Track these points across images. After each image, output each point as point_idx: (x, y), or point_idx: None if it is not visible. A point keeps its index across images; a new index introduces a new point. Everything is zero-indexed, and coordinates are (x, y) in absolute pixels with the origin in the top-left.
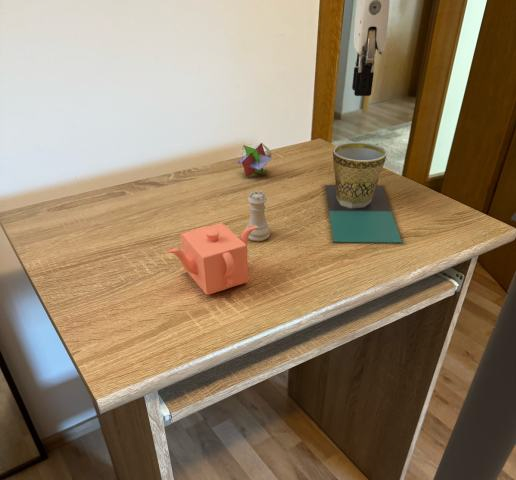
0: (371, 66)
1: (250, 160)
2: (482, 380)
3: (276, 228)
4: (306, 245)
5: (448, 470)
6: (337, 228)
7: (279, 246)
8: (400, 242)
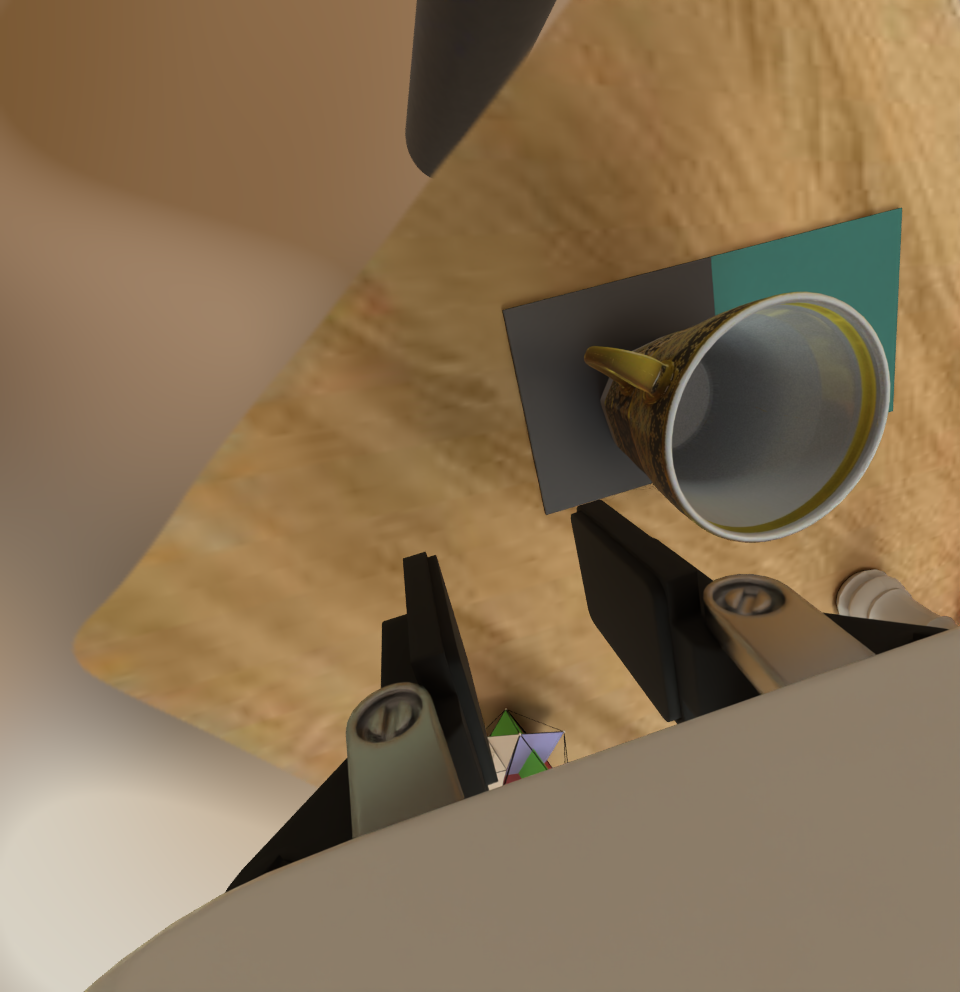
0: (912, 631)
1: None
2: (522, 44)
3: (821, 566)
4: (899, 473)
5: None
6: None
7: (901, 532)
8: (901, 213)
